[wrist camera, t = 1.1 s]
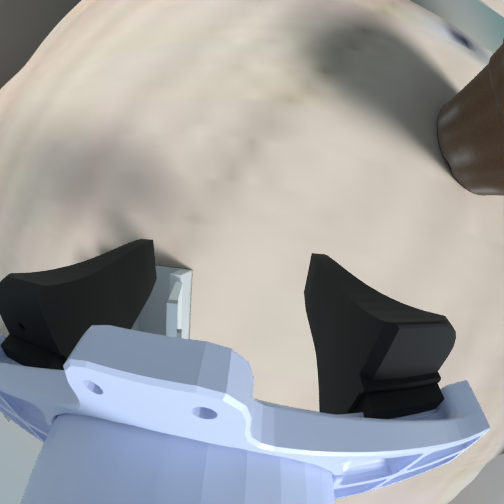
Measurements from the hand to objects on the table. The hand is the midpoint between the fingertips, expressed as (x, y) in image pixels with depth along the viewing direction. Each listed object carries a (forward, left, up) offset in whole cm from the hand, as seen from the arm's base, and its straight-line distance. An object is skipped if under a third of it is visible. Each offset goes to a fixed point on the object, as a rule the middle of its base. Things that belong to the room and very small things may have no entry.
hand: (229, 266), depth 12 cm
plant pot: (+15, -26, -14) cm, 33 cm away
